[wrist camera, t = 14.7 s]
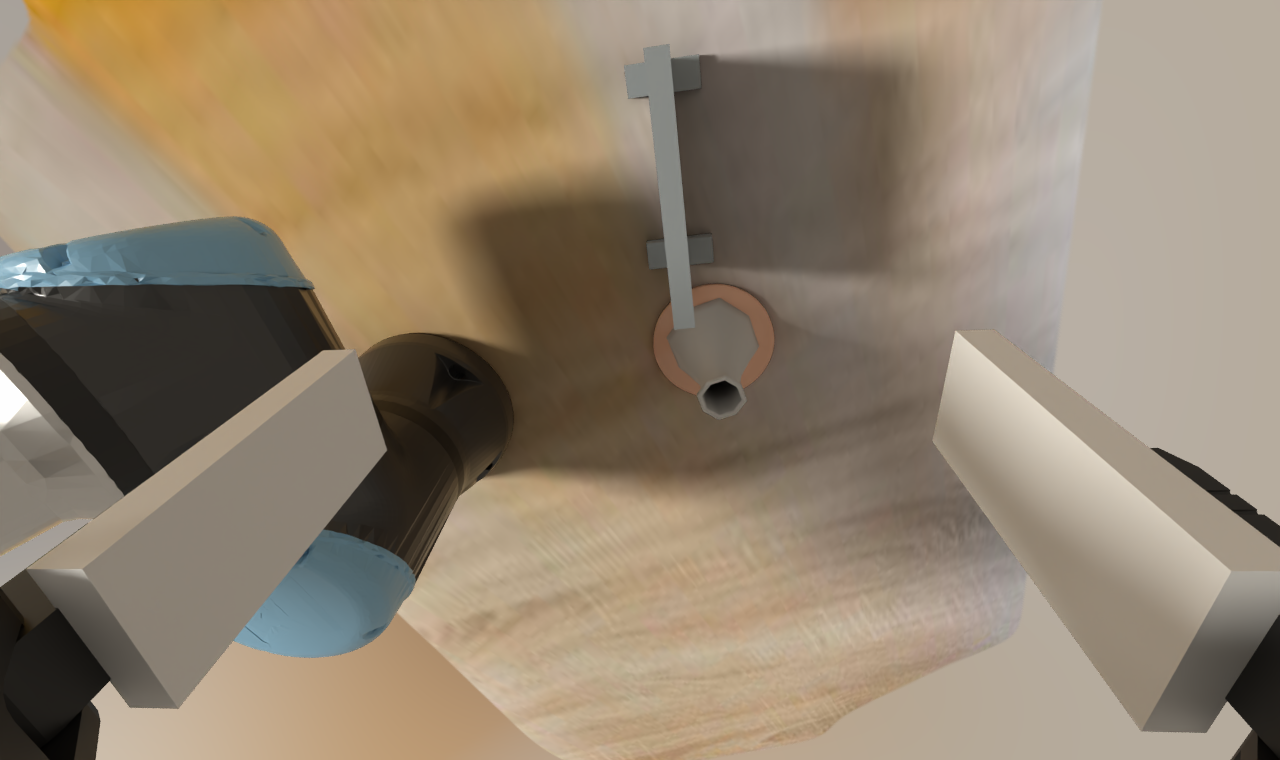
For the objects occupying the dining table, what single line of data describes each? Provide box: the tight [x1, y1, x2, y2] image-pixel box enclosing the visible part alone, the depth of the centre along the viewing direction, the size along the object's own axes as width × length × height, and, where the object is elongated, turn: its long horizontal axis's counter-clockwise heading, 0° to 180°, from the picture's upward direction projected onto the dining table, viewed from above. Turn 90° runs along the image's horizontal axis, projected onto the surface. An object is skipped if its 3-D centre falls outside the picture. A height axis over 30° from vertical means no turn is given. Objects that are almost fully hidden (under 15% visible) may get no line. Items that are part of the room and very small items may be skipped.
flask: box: [667, 298, 759, 420], centre depth 42 cm, size 7×7×10 cm
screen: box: [624, 44, 714, 330], centre depth 35 cm, size 5×14×14 cm, turn 7°
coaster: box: [653, 284, 774, 395], centre depth 47 cm, size 10×10×1 cm
